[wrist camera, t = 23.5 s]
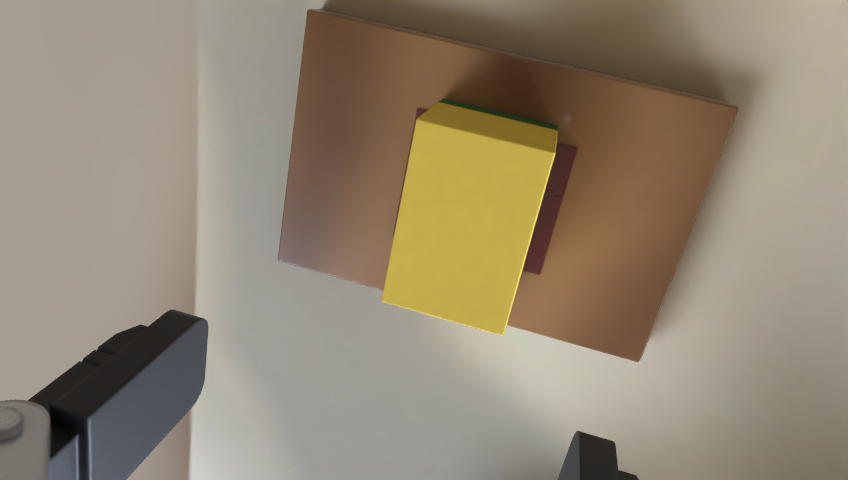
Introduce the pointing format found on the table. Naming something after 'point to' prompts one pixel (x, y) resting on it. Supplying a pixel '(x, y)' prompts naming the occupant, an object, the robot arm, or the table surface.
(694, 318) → the table surface
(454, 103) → the sponge
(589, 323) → the board
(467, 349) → the table surface
